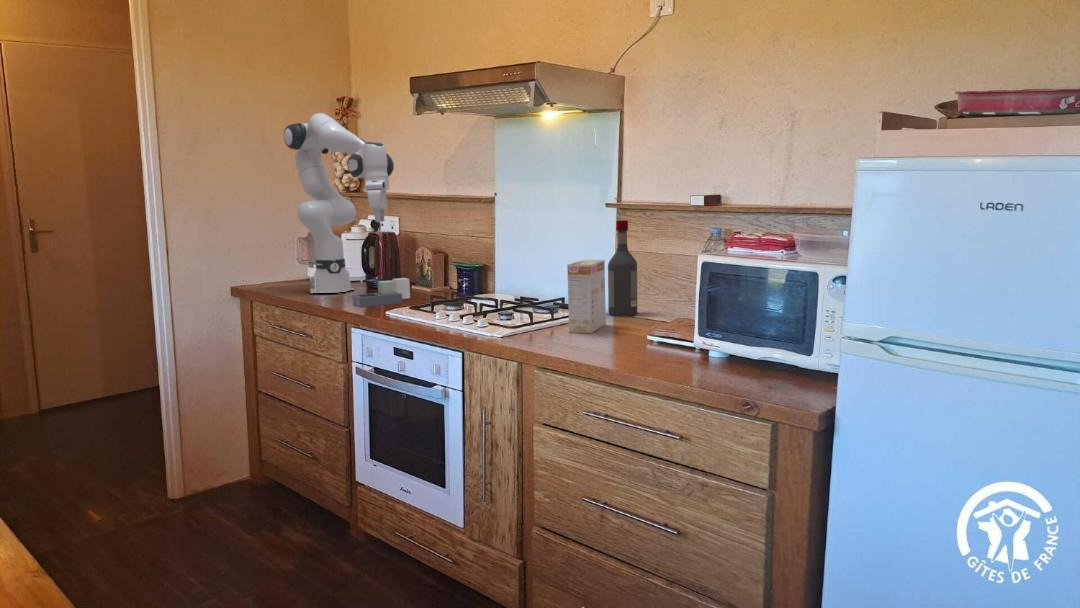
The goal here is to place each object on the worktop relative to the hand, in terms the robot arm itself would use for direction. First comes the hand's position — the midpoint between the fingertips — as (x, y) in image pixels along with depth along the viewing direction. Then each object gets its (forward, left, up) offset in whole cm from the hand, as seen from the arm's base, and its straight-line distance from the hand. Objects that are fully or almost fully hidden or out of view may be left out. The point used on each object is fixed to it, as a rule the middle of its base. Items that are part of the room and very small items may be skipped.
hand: (379, 221), depth 289 cm
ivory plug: (+3, +6, -30) cm, 31 cm away
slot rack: (+13, -7, -30) cm, 34 cm away
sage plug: (+13, -3, -30) cm, 32 cm away
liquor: (+87, +50, -30) cm, 105 cm away
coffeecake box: (+102, +26, -30) cm, 109 cm away
